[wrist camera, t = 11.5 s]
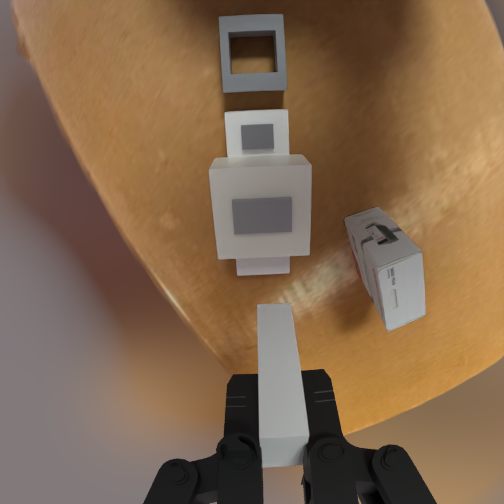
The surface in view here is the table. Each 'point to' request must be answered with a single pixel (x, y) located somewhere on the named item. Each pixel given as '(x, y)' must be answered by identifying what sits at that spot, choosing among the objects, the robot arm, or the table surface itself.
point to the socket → (253, 144)
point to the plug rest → (253, 28)
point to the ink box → (388, 267)
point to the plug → (261, 205)
